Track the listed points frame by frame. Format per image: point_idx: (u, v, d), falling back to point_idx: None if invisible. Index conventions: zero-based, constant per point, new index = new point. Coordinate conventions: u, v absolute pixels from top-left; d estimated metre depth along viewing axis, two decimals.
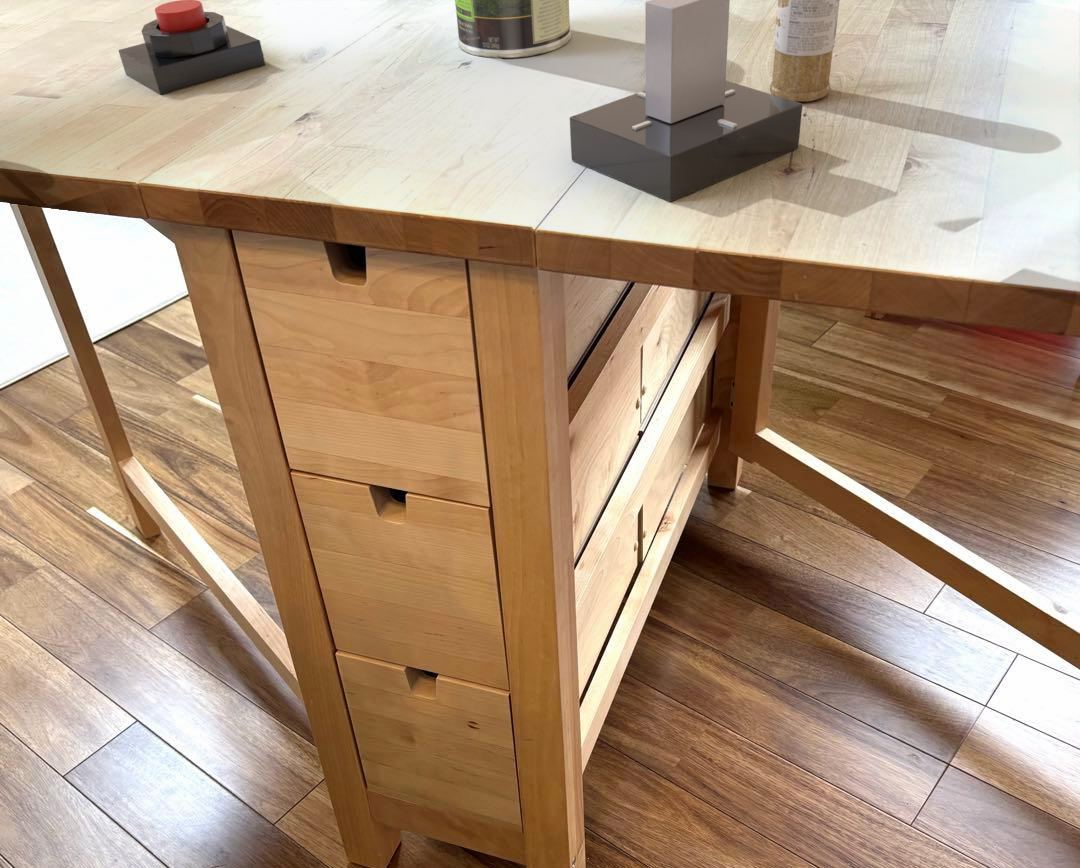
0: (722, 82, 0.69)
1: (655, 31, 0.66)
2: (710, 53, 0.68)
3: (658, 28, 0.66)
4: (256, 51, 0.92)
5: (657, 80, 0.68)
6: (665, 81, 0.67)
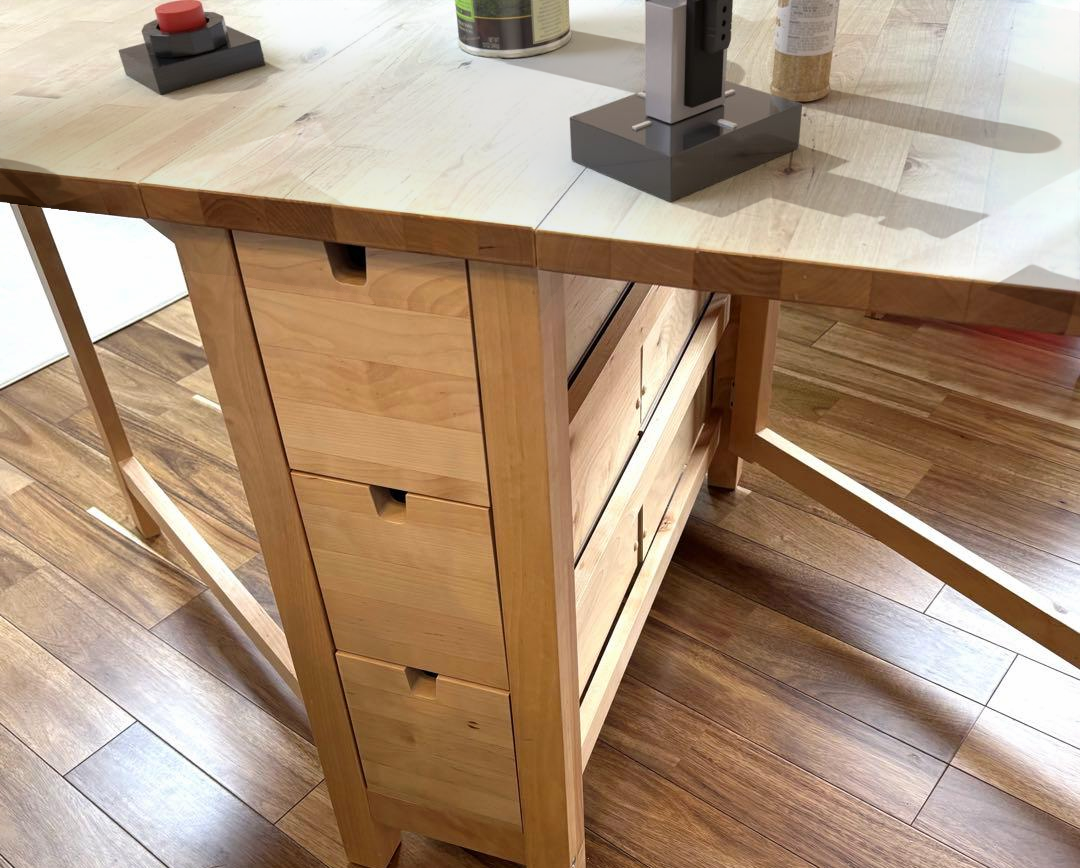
0: (722, 82, 0.69)
1: (655, 31, 0.66)
2: None
3: (658, 28, 0.66)
4: (256, 51, 0.92)
5: (657, 80, 0.68)
6: (665, 81, 0.67)
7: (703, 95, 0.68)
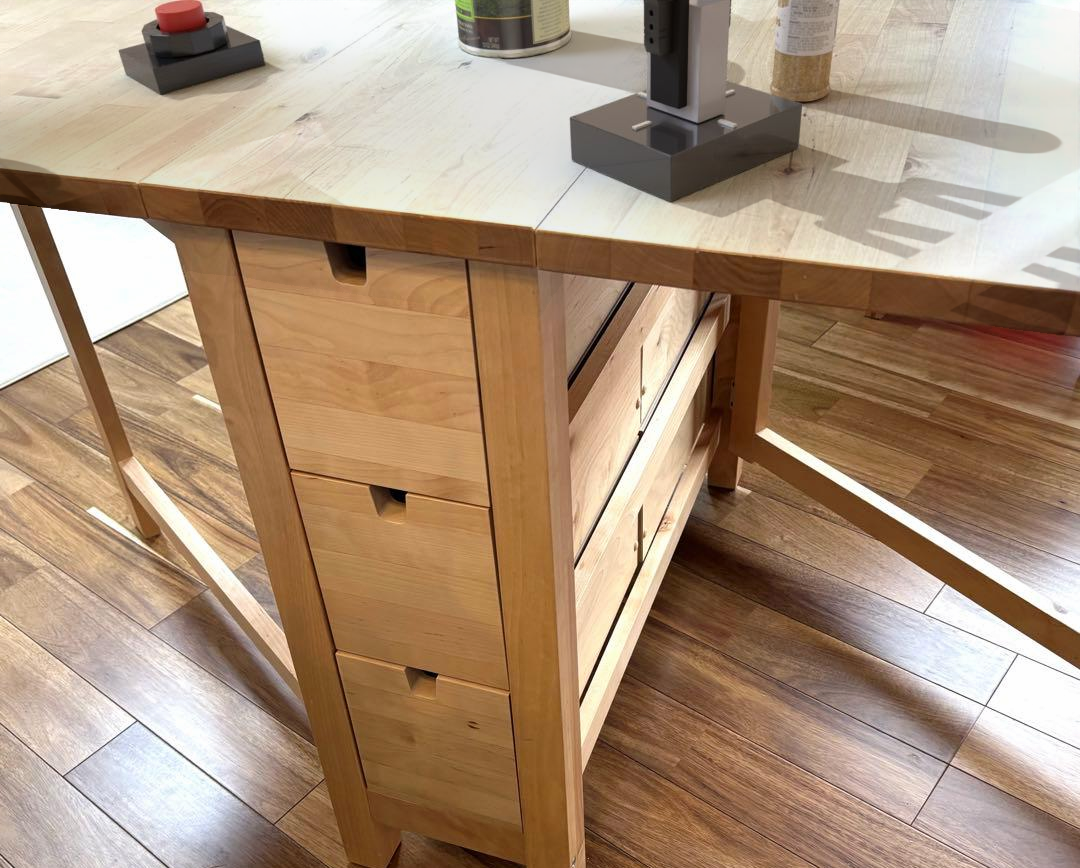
0: None
1: (712, 31, 0.65)
2: None
3: (715, 26, 0.65)
4: (256, 51, 0.92)
5: (712, 79, 0.67)
6: (721, 74, 0.67)
7: None
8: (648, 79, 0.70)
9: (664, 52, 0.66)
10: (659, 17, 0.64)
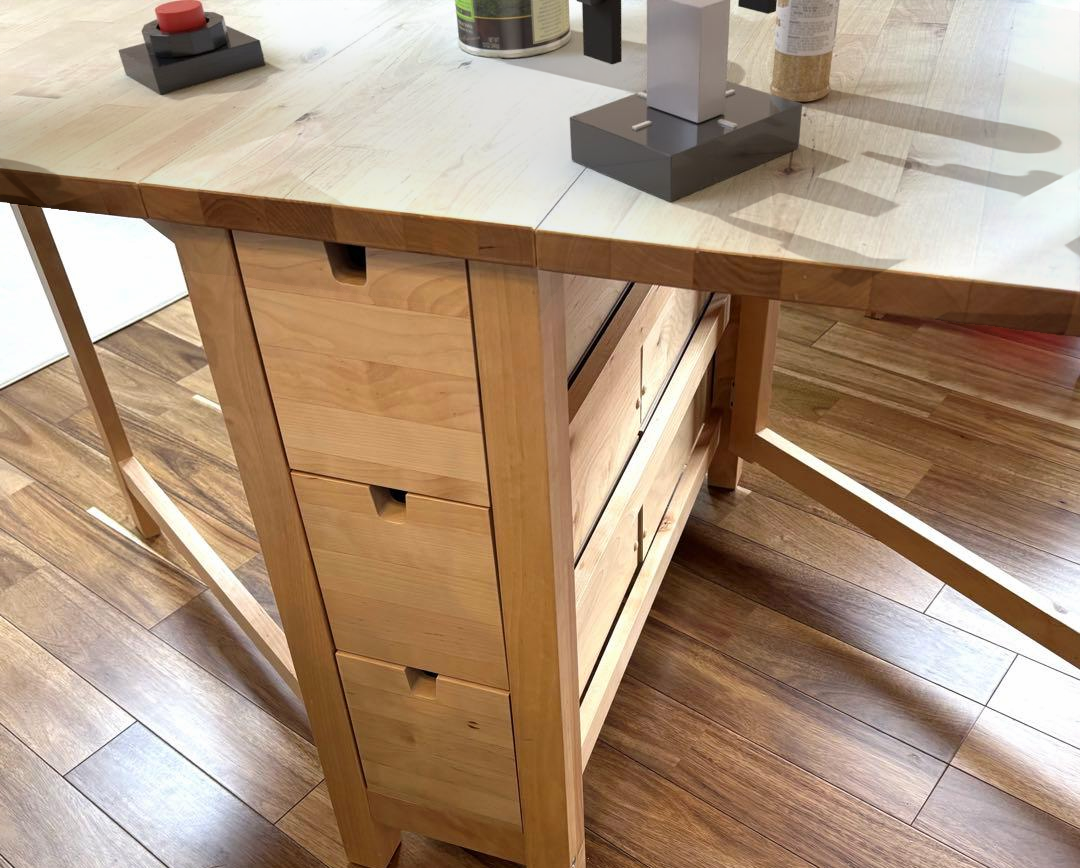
0: None
1: (712, 31, 0.65)
2: None
3: (715, 26, 0.65)
4: (256, 51, 0.92)
5: (712, 79, 0.67)
6: (721, 74, 0.67)
7: None
8: (648, 79, 0.70)
9: (595, 1, 0.61)
10: None
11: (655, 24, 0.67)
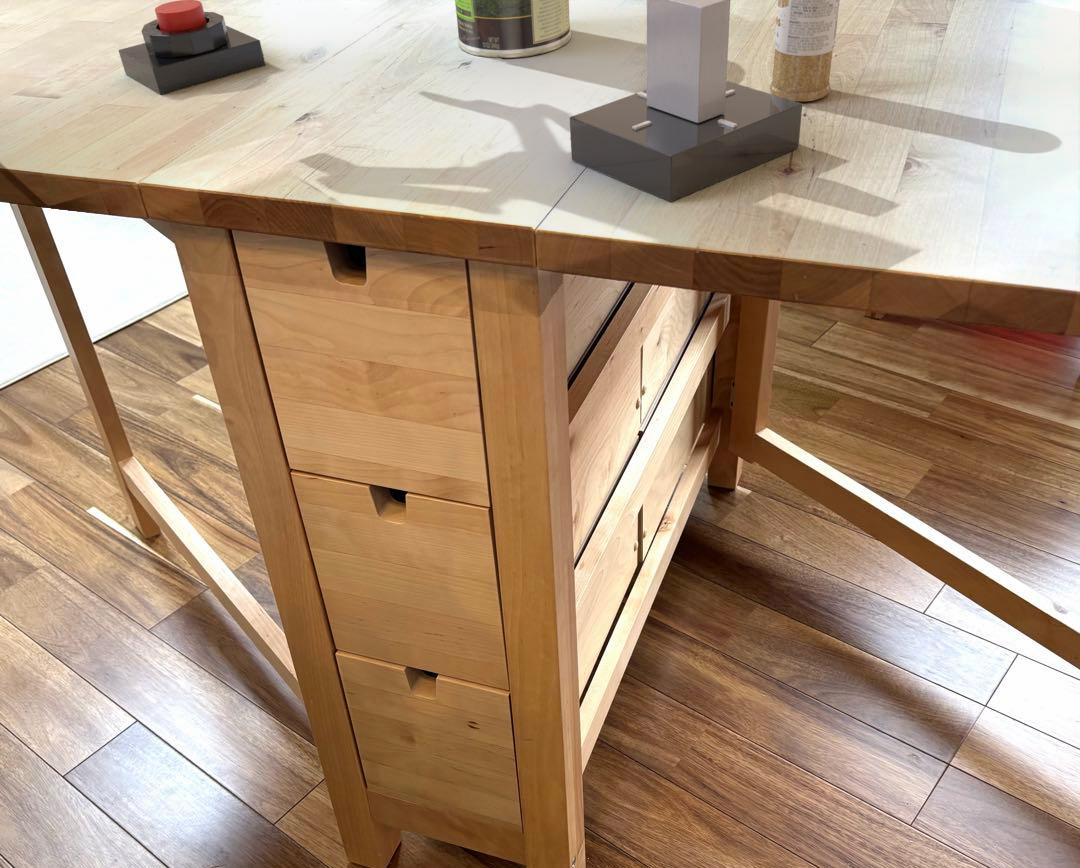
0: None
1: (712, 31, 0.65)
2: None
3: (715, 26, 0.65)
4: (256, 51, 0.92)
5: (712, 79, 0.67)
6: (721, 74, 0.67)
7: None
8: (648, 79, 0.70)
9: None
10: None
11: (655, 24, 0.67)
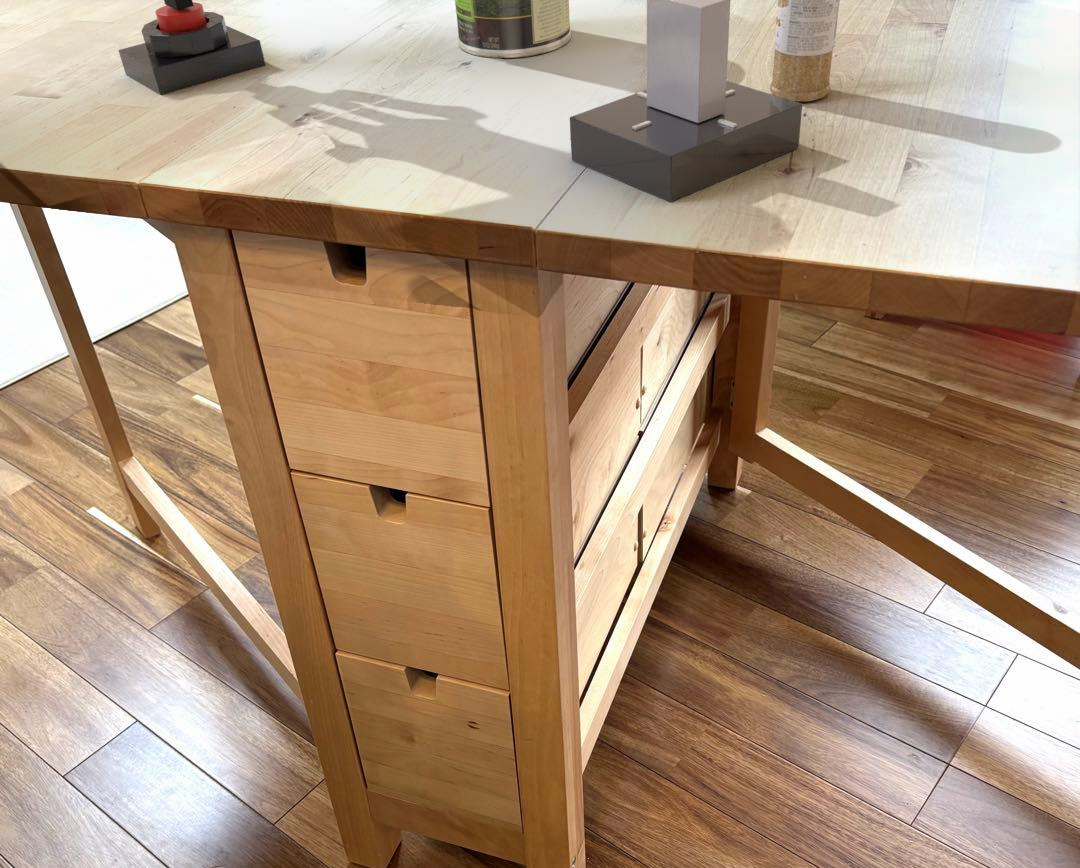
0: None
1: (712, 31, 0.65)
2: None
3: (715, 26, 0.65)
4: (256, 51, 0.92)
5: (712, 79, 0.67)
6: (721, 74, 0.67)
7: None
8: (648, 79, 0.70)
9: None
10: None
11: (655, 24, 0.67)
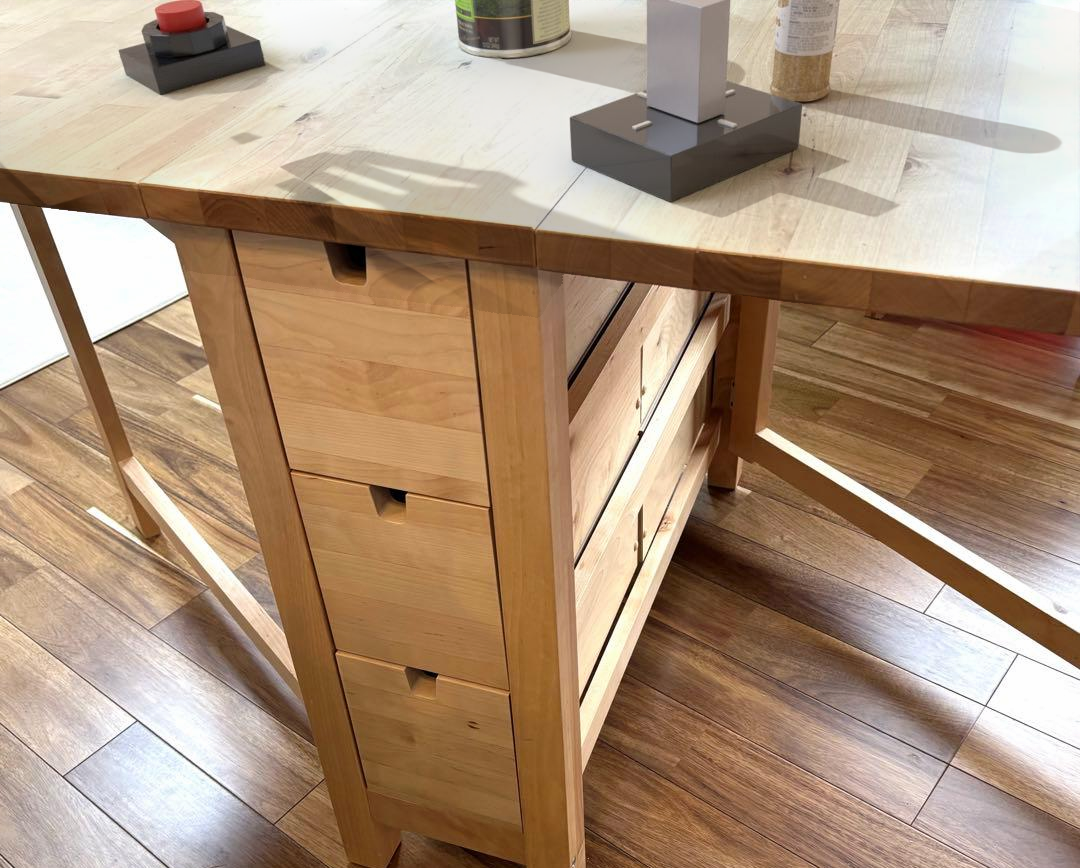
0: None
1: (712, 31, 0.65)
2: None
3: (715, 26, 0.65)
4: (256, 51, 0.92)
5: (712, 79, 0.67)
6: (721, 74, 0.67)
7: None
8: (648, 79, 0.70)
9: None
10: None
11: (655, 24, 0.67)
